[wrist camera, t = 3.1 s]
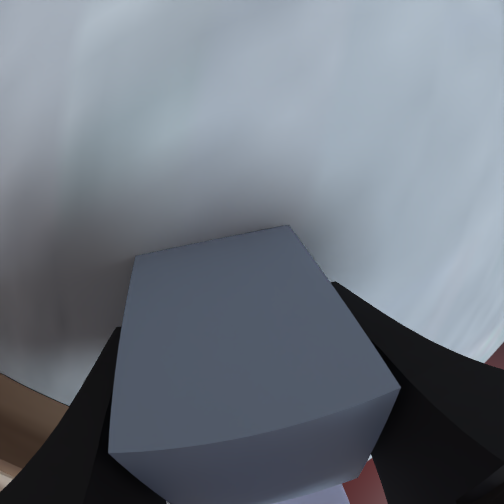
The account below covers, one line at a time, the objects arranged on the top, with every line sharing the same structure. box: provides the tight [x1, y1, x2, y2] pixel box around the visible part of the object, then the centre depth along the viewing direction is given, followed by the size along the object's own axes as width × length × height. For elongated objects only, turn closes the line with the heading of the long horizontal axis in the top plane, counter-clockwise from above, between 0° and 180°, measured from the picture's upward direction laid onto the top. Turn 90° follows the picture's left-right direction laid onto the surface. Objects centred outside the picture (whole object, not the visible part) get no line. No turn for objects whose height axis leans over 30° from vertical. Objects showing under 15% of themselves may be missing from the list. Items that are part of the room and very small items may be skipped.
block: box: [108, 225, 401, 504], centre depth 8 cm, size 4×4×6 cm
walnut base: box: [0, 373, 69, 491], centre depth 10 cm, size 12×12×4 cm
